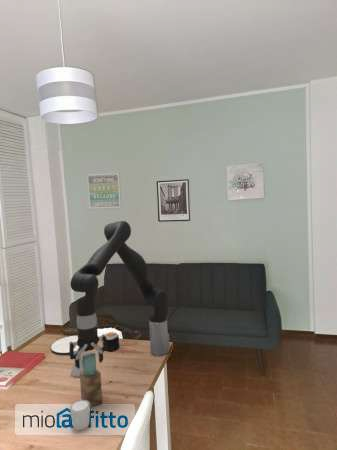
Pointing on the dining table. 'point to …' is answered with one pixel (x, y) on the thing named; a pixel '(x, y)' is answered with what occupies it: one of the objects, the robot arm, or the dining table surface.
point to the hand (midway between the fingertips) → (89, 364)
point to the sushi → (112, 341)
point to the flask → (75, 370)
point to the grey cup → (80, 414)
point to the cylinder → (89, 364)
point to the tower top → (90, 382)
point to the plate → (64, 344)
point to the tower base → (92, 397)
